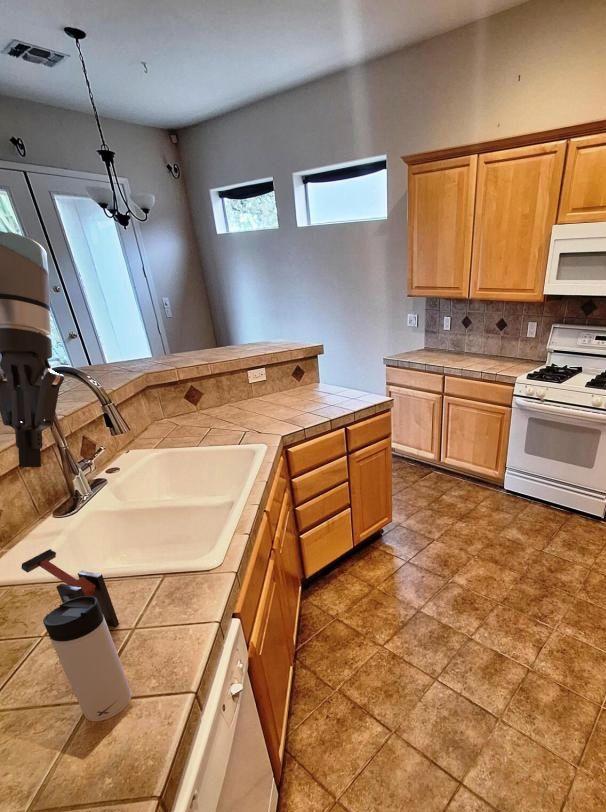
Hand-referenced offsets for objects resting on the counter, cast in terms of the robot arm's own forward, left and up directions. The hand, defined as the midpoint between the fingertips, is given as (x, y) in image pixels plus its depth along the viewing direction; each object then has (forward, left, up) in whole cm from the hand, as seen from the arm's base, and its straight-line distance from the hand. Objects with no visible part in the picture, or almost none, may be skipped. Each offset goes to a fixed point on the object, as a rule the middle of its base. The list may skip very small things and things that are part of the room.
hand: (30, 466), depth 77 cm
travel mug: (+29, -20, -30) cm, 46 cm away
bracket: (+14, -8, -29) cm, 34 cm away
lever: (+10, -8, -17) cm, 22 cm away
